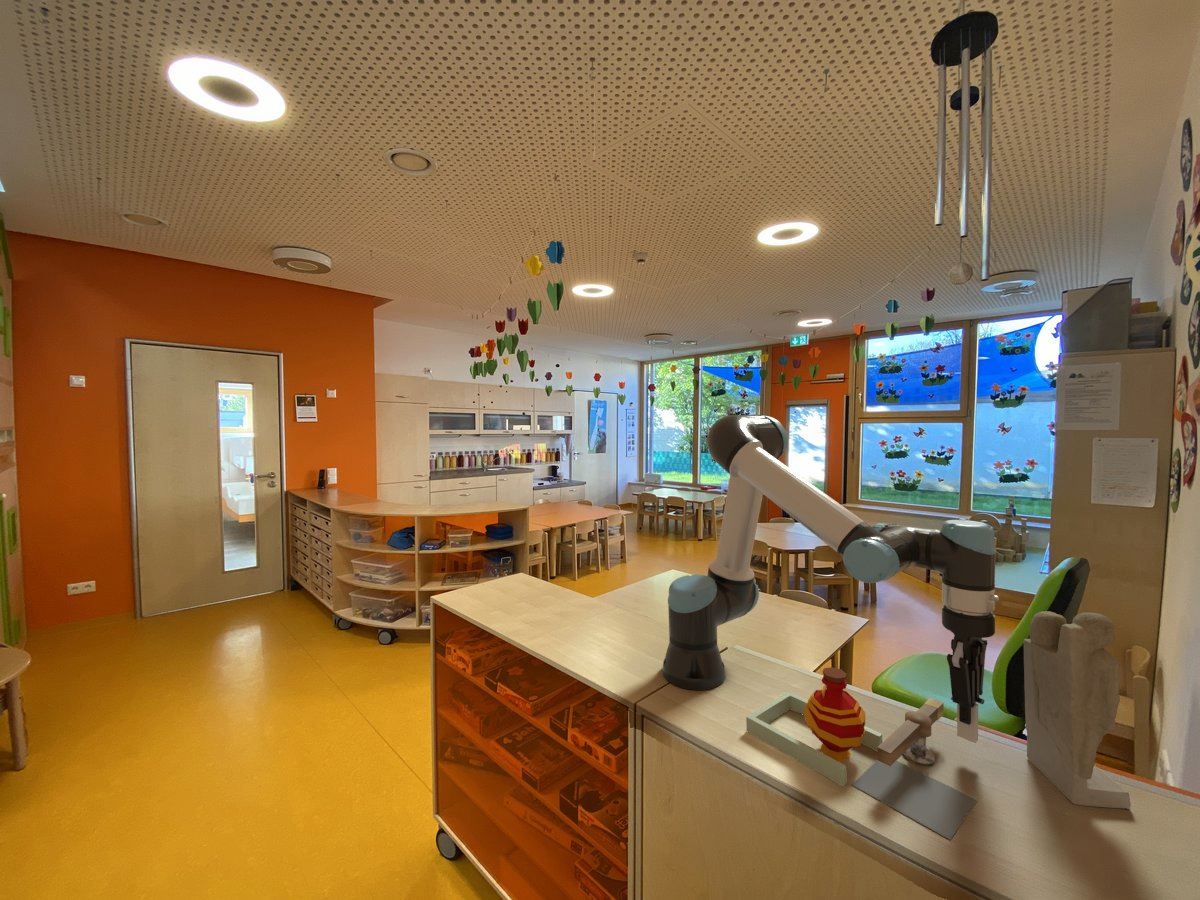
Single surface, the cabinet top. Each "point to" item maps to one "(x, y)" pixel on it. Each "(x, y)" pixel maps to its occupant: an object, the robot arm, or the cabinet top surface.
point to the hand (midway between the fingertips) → (967, 737)
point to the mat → (917, 796)
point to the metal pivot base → (920, 753)
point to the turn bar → (910, 731)
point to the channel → (794, 747)
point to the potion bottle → (835, 716)
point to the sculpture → (1072, 704)
